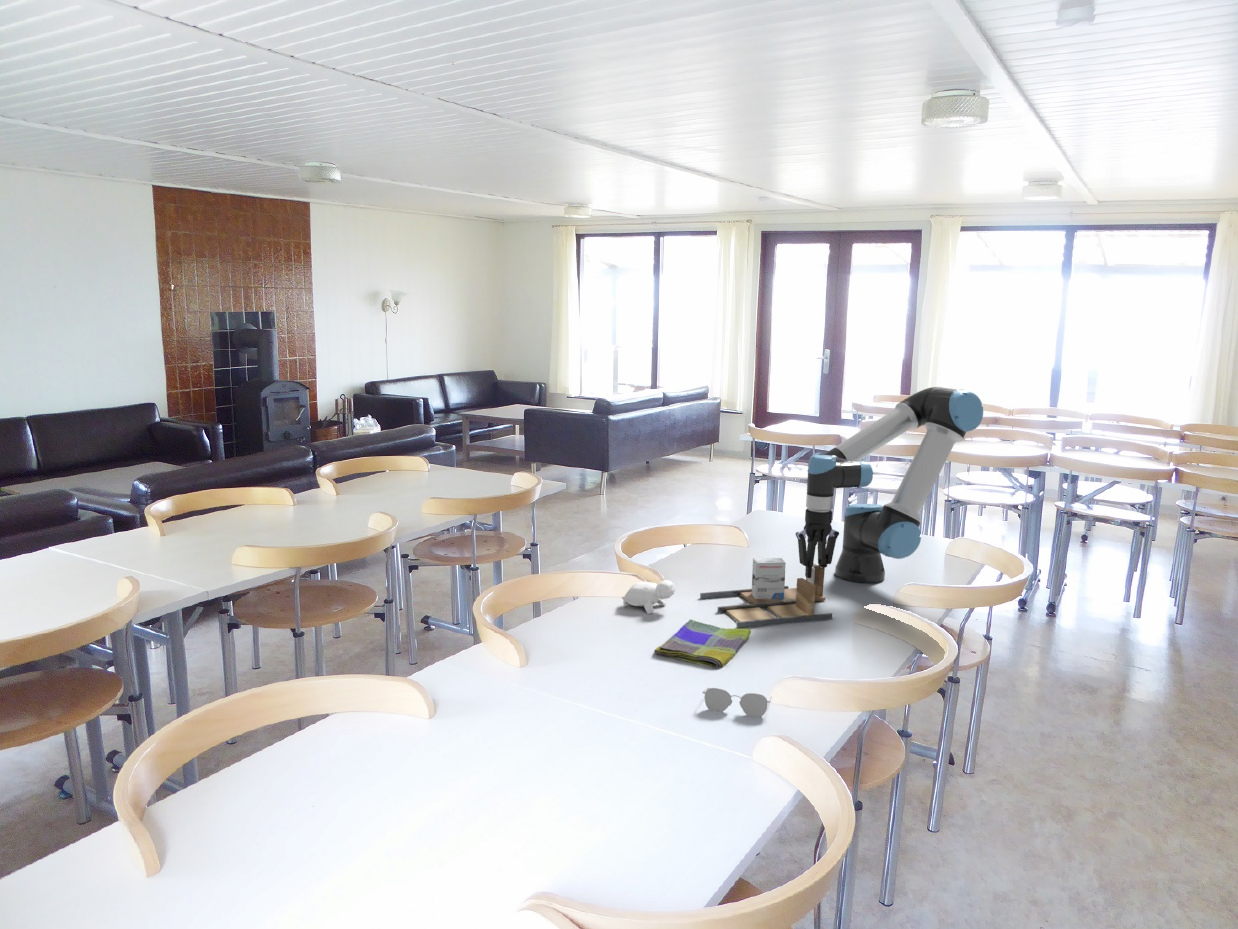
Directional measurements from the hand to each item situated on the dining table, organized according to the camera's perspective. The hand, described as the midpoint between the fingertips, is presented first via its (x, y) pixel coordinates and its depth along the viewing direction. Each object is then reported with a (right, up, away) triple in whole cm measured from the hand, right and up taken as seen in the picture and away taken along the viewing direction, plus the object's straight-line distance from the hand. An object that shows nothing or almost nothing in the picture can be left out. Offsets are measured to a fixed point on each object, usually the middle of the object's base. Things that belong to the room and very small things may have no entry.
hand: (813, 587), depth 246 cm
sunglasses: (-32, -15, -70) cm, 79 cm away
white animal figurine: (-48, -4, -13) cm, 50 cm away
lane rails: (-16, -4, -11) cm, 20 cm away
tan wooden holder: (-10, -3, -3) cm, 10 cm away
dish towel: (-36, -9, -39) cm, 54 cm away
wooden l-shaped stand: (-16, -5, -17) cm, 24 cm away
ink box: (-14, -3, -4) cm, 15 cm away
